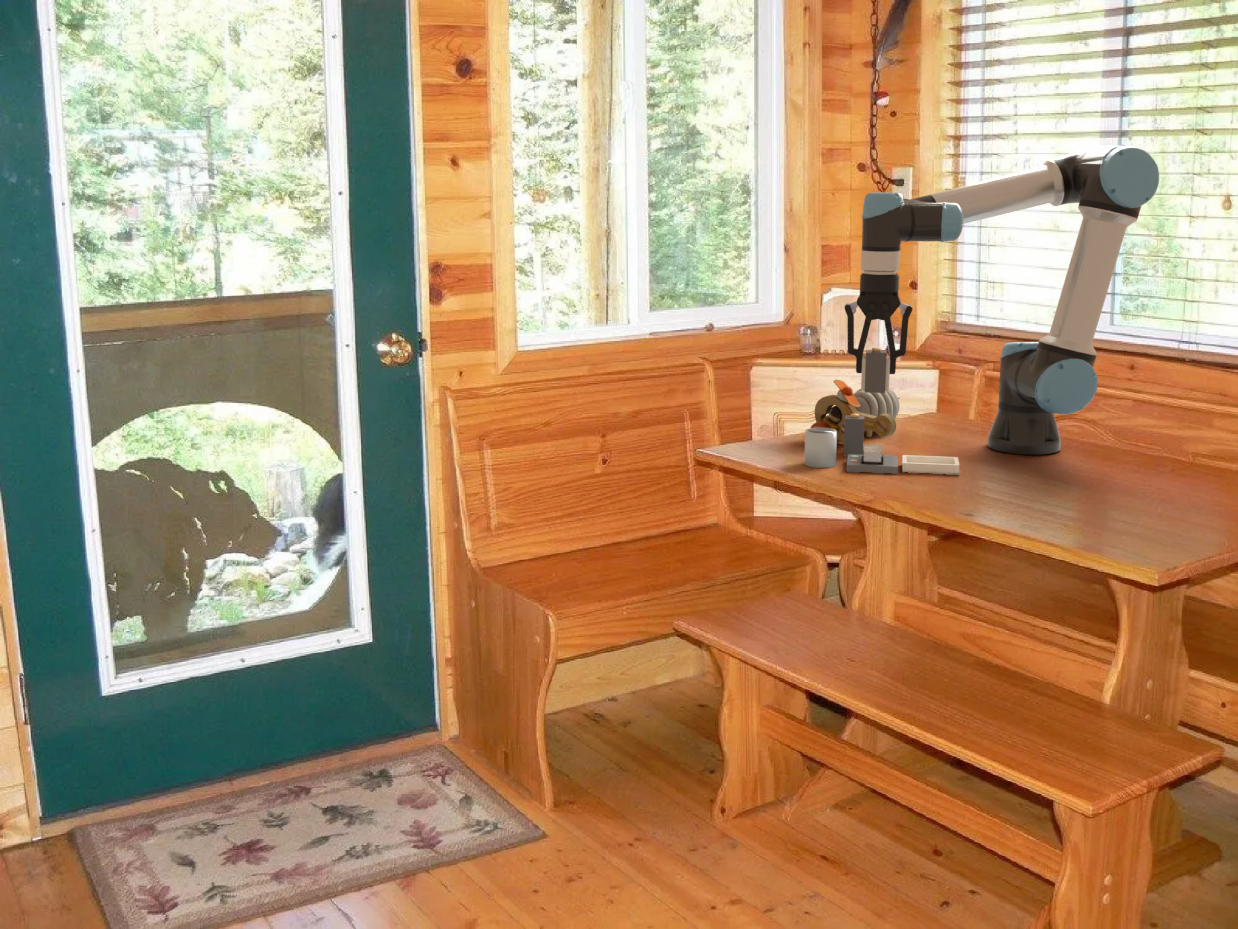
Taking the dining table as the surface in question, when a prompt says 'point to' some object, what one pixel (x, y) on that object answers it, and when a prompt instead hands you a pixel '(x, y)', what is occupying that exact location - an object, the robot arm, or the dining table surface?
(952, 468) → the trough
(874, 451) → the grey rectangular block
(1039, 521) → the dining table surface
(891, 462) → the base
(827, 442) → the cup
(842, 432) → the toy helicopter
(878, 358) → the cell
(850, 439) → the block
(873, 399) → the grey ribbed rounded cylinder
